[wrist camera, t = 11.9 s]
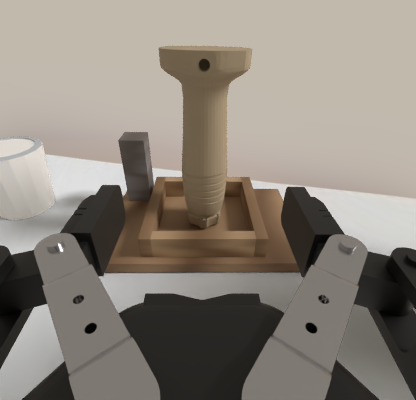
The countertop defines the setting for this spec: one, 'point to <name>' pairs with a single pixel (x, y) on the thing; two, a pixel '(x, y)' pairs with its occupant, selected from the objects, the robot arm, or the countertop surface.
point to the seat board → (192, 234)
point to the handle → (204, 121)
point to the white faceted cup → (24, 179)
